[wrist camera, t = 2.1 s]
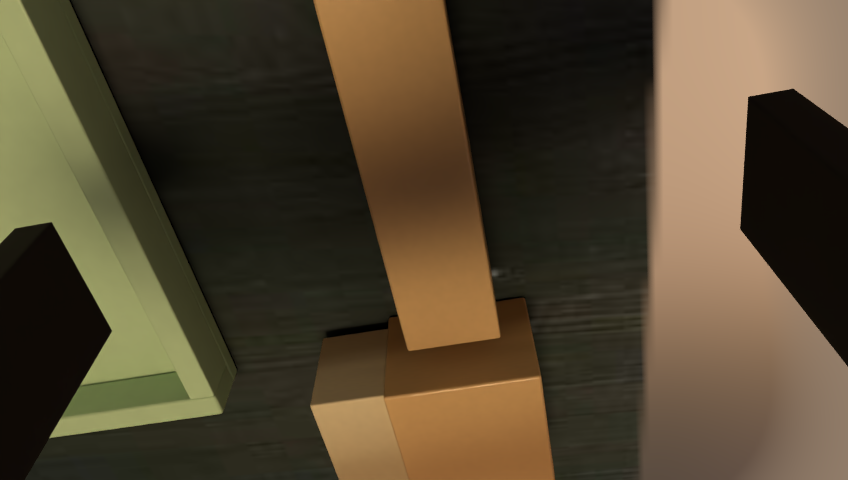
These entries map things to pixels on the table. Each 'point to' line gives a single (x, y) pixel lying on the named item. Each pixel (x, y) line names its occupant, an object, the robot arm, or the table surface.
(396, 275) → the wooden mallet
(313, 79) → the table surface
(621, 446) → the table surface
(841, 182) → the robot arm
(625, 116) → the table surface
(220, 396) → the tray
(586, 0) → the table surface
